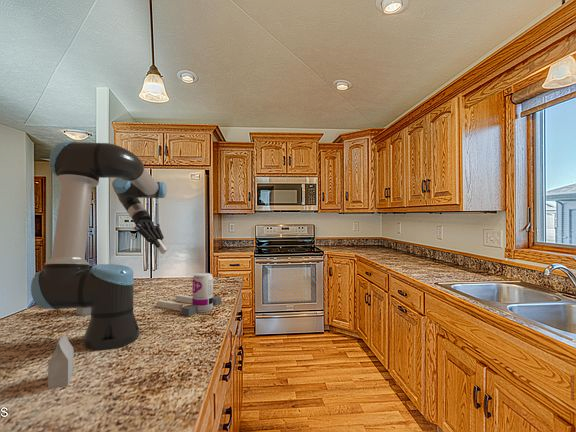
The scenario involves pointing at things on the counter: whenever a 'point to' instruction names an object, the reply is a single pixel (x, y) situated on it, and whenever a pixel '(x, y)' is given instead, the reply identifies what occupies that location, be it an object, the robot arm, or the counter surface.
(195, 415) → the counter surface
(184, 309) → the chute
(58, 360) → the gray house shaped block
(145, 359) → the counter surface
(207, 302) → the supplement can
